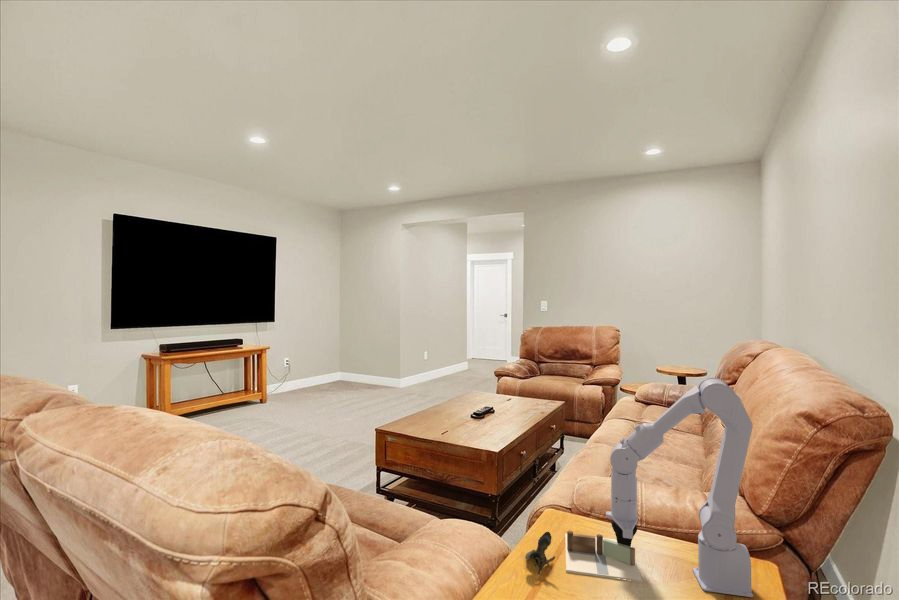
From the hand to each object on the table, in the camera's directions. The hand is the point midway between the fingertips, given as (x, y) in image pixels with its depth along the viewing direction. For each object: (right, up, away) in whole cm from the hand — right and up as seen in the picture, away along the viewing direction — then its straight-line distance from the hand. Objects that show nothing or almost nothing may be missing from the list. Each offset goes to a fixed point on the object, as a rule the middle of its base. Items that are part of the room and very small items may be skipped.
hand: (623, 553), depth 105 cm
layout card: (-5, -2, +2) cm, 6 cm away
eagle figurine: (-20, -2, -1) cm, 20 cm away
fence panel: (-1, -1, -1) cm, 2 cm away
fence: (-8, -1, +3) cm, 9 cm away
